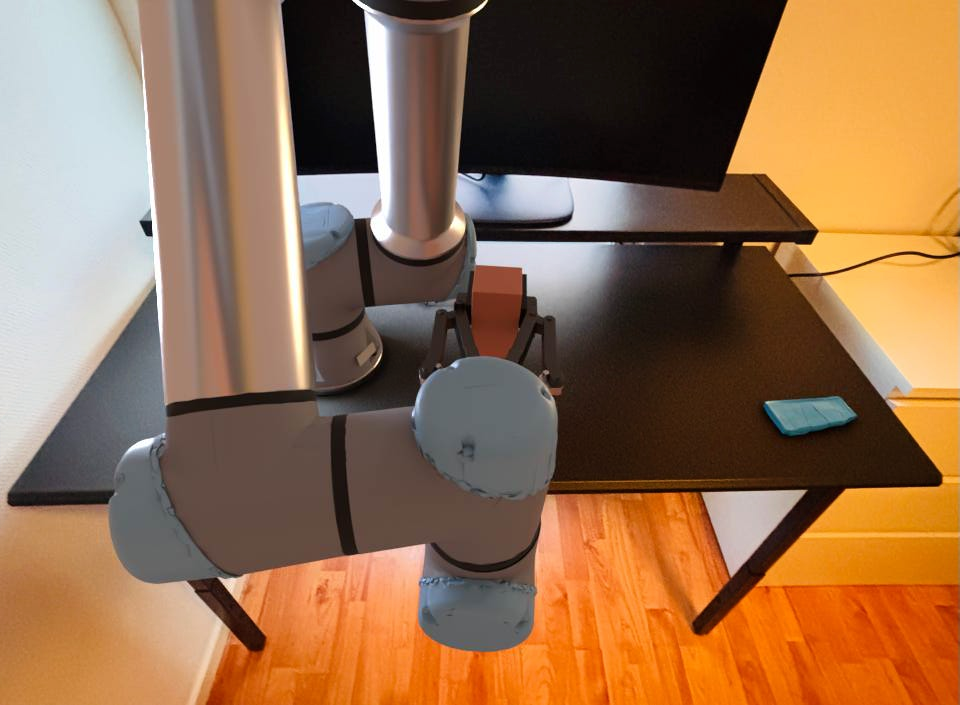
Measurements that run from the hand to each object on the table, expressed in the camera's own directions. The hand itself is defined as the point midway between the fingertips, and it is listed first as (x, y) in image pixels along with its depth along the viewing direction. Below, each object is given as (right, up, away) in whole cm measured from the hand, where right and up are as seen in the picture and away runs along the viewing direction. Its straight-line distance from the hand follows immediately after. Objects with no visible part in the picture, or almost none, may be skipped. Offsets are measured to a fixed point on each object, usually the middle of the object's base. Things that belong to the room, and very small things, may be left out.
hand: (497, 282), depth 62 cm
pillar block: (-1, -8, 0) cm, 8 cm away
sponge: (+44, -17, +13) cm, 50 cm away
